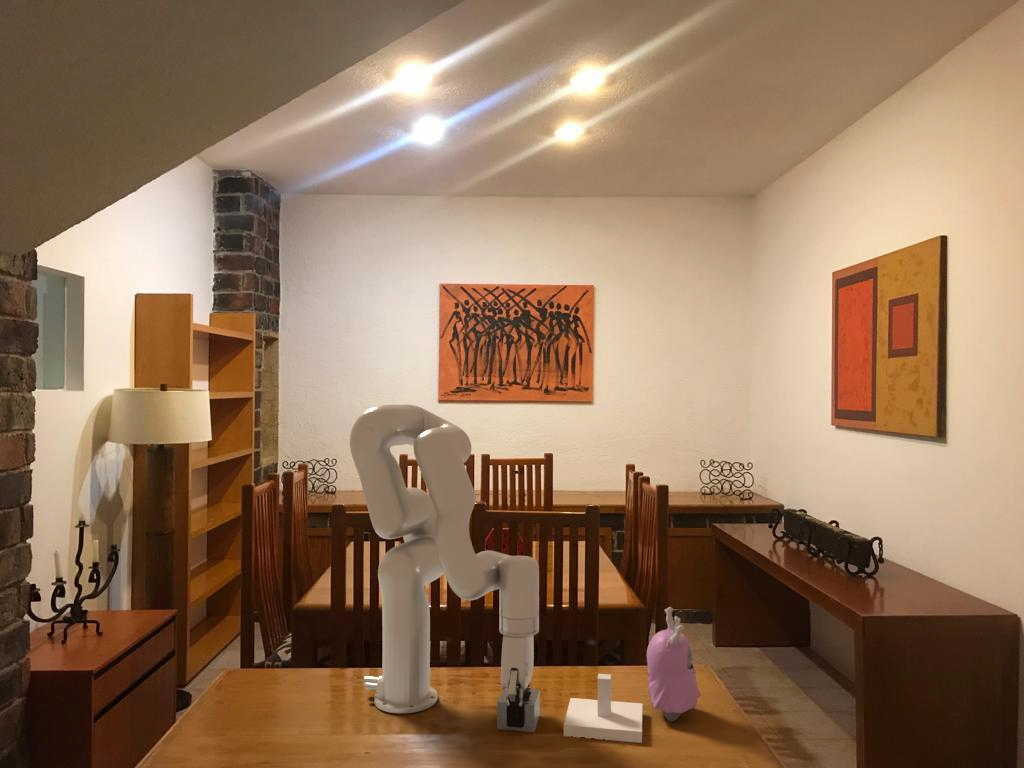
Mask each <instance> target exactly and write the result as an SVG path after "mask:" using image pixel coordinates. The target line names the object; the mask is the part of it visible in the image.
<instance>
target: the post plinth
mask: <svg viewBox="0 0 1024 768" xmlns="http://www.w3.org/2000/svg"><path fill="white" fill-rule="evenodd" d="M571 736H573V737H571ZM563 737H568V738H569V737H570V738H580V737H585V738H584V739H591V738H595V739H594V740H603V739H605V740H604V741H618V742H627V743H638V744H639V743H640V744H642V743H643V702H642V703H639V702H629V701H628V702H626V701H614V700H612V674H609V673H608V674H607V673H598V675H597V699H590V698H579V697H570V699H569V703H568V707H567V711H566V713H565V719H564V723H563Z"/></svg>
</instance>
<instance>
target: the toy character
mask: <svg viewBox="0 0 1024 768" xmlns="http://www.w3.org/2000/svg"><path fill="white" fill-rule="evenodd" d="M673 611H674V608H673V607H672V606H669V607H667V608H665V609H664V613H665V614H666V616H665V622H666V624H667V628H666V629H662V630H659V631H658V632H656V633H655V634H654V635H653V636H652V638H651V639H650V642H649V643H648V646H647V649H646V663H647V675H648V683H647V684H648V694H649V696H650V702H651V704H652V705H653V707H654V709H656V710H658V711H661V712H662V714H663V715H664V717H665V718H666V720H667V721H669V722H675V721H677V720H678V719H679V718H680V716H681V715H682V714H684V713H685V712H687V711H689V710H693V709H695V708H696V707H697V705H698V700H699V697H701V696H702V693H701V692H700V690H699V686H698V681H697V675H696V672H697V671H696V668H695V666H694V665H693V663H692V662H693V658H692V657H693V653H692V651H691V647H690V646H689V645H690V640H689V638H687V637H686V636H685V635H684V634H683V633H682V631H683V630H684V628H685V627H684V625H683V624H681V618H680V617H678V616H677V615H676V616H674V617H673V616H672V615H673V613H672V612H673Z"/></svg>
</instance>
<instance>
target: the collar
mask: <svg viewBox="0 0 1024 768" xmlns="http://www.w3.org/2000/svg"><path fill="white" fill-rule="evenodd" d="M516 695H518V697H519V695H520V692H516ZM507 696H508V686H507V688H505V689H502V691H501V692H500V695H499V697H498V699H497V701H496V730H504V731H516V732H517V731H518V732H527V733H535V730H536V728H537V725H538V722H539V720H540V716H541V699H540V698H541V690H540V689H536V688H531V689H525V690H524V691H523V705H524V727H523V728H517V727H508V726H507Z"/></svg>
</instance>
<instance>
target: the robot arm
mask: <svg viewBox="0 0 1024 768" xmlns="http://www.w3.org/2000/svg"><path fill="white" fill-rule="evenodd" d="M349 435H350V436H349V448H350V453H351V457H352V460H353V463H354V465H355V468H356V471H357V473H358V477H359V480H360V483H361V484H360V485H361V489H362V493H363V496H364V499H365V503H366V506H367V511H368V514H369V519H370V521H371V524H372V528H373V529H374V531H375V533H376V534H377V536H379V537H380V538H381V539H385V540H393V539H398V538H401V537H402V538H403V542H404V543H400V544H398V545H396V546H393V547H391V548H390V549H389V550H388V551H386V552H385V553H384V555H383V556H382V557H381V559H380V562H379V565H378V569H377V578H378V584H379V590H380V596H381V608H382V609H381V611H382V612H381V614H382V619H381V620H382V624H381V625H382V655H381V656H382V660H381V661H382V663H381V665H382V667H381V668H382V671H381V672H382V675H379V676H378V677H377V676H373V675H365V676H364V678H363V686H364V690H366V691H375V692H376V693H375V694H374V701H373V702H374V706H375V707H376V708H378V709H379V710H381V711H384V712H386V713H391V714H412V713H418V712H422V711H425V710H427V709H430V708H431V707H433V706H434V705H435V704H436V702H438V692H437V689H435V688H434V687H432V686H431V685H430V683H431V681H430V680H431V679H430V678H431V677H430V675H431V667H430V665H431V664H430V663H431V648H430V647H431V616H430V615H431V614H430V613H431V612H430V603H429V599H428V597H427V594H426V588H425V587H426V585H428V584H430V583H432V582H434V581H436V580H438V579H440V578H441V577H442V576H443V575H444V576H445V580H446V581H447V583H448V585H449V587H450V588H451V589H450V590H452V592H453V593H454V594H455V595H456V596H457V597H459V598H460V599H463V600H465V601H474V600H478V599H480V598H481V597H484V596H485V595H487V594H488V593H489V592H490V593H491V592H492V591H496V590H499V595H498V597H499V598H498V599H499V600H498V601H499V605H498V606H499V609H498V610H499V621H498V622H499V624H498V625H499V628H498V629H499V630H498V631H499V633H500V634H501V635H502V636H503V637H502V644H501V645H502V646H501V647H502V648H501V661H500V665H501V668H500V688H501V689H502V690H503V689H505V688H507V687H508V696H507V726H508V727H517V728H523V727H524V705H523V691H524V690H525V689H532V688H531V679H532V676H533V672H534V663H535V662H534V658H535V656H534V655H535V653H534V649H535V648H534V647H535V646H534V644H535V643H534V642H535V641H534V637H535V635H537V634H538V633H540V613H539V612H540V594H539V593H540V565H539V562H538V561H537V559H536V558H535V557H531V556H528V555H509V554H507V553H506V554H505V553H502V552H499V551H495V550H483V551H480V552H478V553H476V552H475V549H474V546H473V545H472V540H471V536H470V535H471V534H470V520H471V515H472V513H473V510H474V507H475V505H476V501H477V495H476V494H477V493H476V492H475V489H474V486H473V484H472V481H471V479H470V476H469V474H468V471H467V469H466V467H465V464H464V463H466V462H467V460H469V458H470V456H471V453H472V443H471V442H472V441H471V439H470V437H469V435H468V434H467V432H466V431H465V430H464V429H462V428H461V427H460V426H458V425H456V424H454V423H452V422H450V421H448V420H447V419H444V418H442V417H440V416H438V415H436V414H435V413H433V412H430V411H428V410H427V409H425V408H422V407H421V406H418V405H415V404H382V405H381V404H380V405H377V406H376V405H375V406H372V407H370V408H369V409H367V410H365V411H363V412H362V413H361V414H360V415H359V416H358V417H357V418H356V420H355V422H354V423H353V426H352V428H351V431H350V434H349ZM402 445H409V446H412V447H413V453H414V457H415V459H416V463H417V466H418V468H419V470H420V473H421V477H422V478H423V479H422V480H423V481H424V483H425V486H426V489H427V491H428V492H426V491H425V490H423V489H421V488H418V487H413V486H411V487H406V486H407V485H406V483H405V480H404V476H403V473H402V469H401V467H400V465H399V462H398V461H397V459H396V457H395V456H394V454H392V452H391V447H394V446H402ZM516 692H520V695H519V697H518V695H516Z"/></svg>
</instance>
